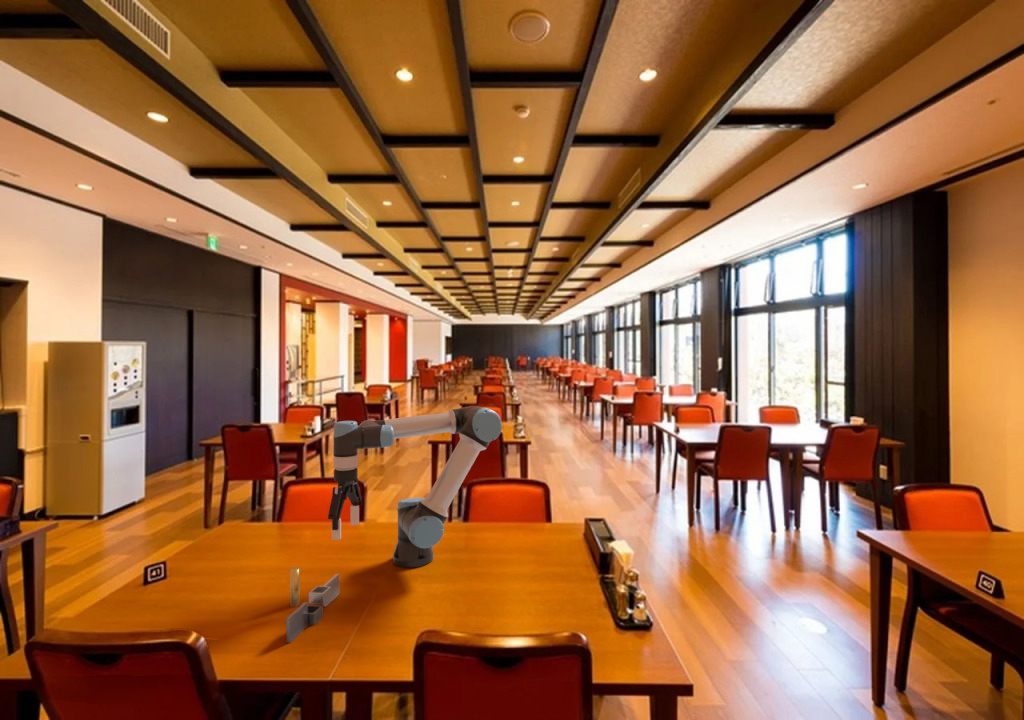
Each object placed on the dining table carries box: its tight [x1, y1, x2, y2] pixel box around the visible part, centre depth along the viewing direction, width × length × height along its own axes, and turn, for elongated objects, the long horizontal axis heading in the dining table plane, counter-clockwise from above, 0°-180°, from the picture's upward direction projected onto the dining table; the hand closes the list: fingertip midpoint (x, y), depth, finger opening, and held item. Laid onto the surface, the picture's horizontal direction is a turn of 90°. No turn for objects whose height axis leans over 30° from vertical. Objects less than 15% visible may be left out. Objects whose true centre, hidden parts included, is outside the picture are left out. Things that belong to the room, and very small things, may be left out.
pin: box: [289, 566, 301, 608], centre depth 152 cm, size 3×3×11 cm
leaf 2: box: [308, 573, 340, 607], centre depth 152 cm, size 13×5×6 cm, turn 172°
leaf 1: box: [285, 601, 324, 644], centre depth 138 cm, size 14×5×7 cm, turn 172°
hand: (346, 531), depth 163 cm, fingers open, 13 cm apart
